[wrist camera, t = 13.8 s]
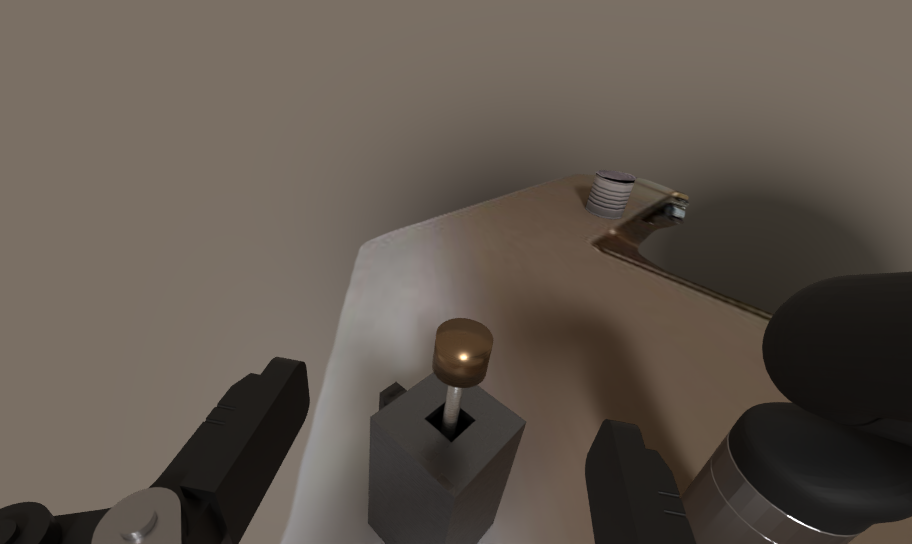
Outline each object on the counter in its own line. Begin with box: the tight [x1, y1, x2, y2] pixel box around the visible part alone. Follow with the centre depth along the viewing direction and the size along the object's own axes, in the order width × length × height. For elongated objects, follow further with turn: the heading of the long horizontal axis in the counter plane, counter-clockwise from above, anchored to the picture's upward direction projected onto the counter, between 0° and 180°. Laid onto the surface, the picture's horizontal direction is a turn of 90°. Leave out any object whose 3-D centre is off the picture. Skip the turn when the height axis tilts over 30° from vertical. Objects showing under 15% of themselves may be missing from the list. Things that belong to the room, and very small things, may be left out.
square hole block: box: [368, 373, 526, 544], centre depth 38 cm, size 12×9×16 cm
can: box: [585, 170, 637, 219], centre depth 121 cm, size 11×11×12 cm
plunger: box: [432, 318, 493, 442], centre depth 34 cm, size 7×7×20 cm
